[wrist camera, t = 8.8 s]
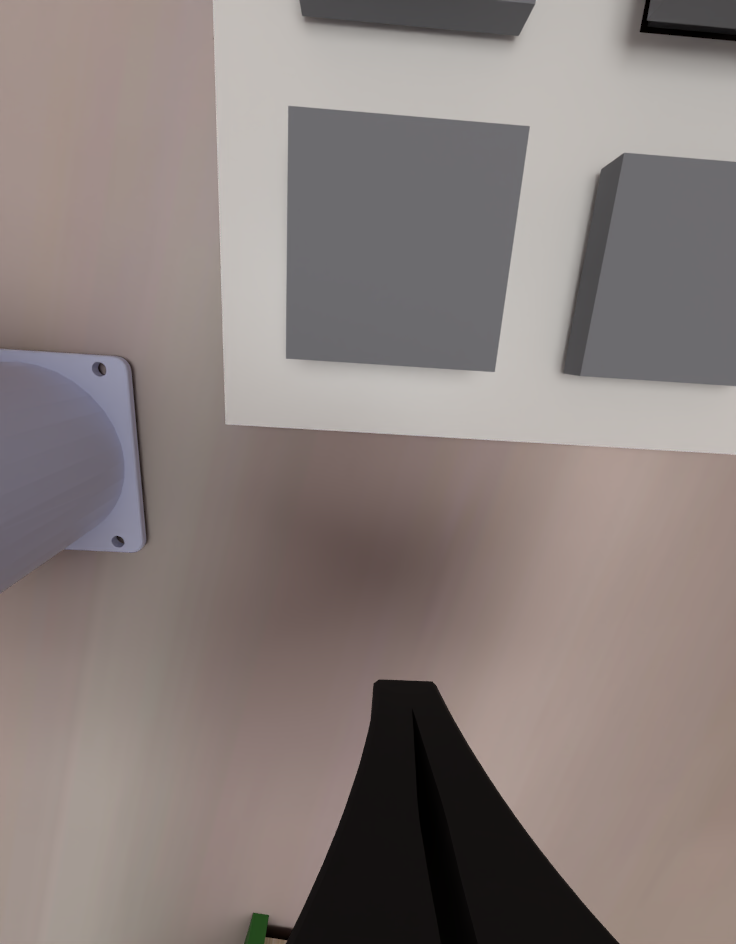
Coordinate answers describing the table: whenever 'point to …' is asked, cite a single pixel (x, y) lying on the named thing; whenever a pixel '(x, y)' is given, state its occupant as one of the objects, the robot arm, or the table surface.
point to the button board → (537, 226)
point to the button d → (694, 15)
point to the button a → (399, 237)
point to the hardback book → (260, 931)
